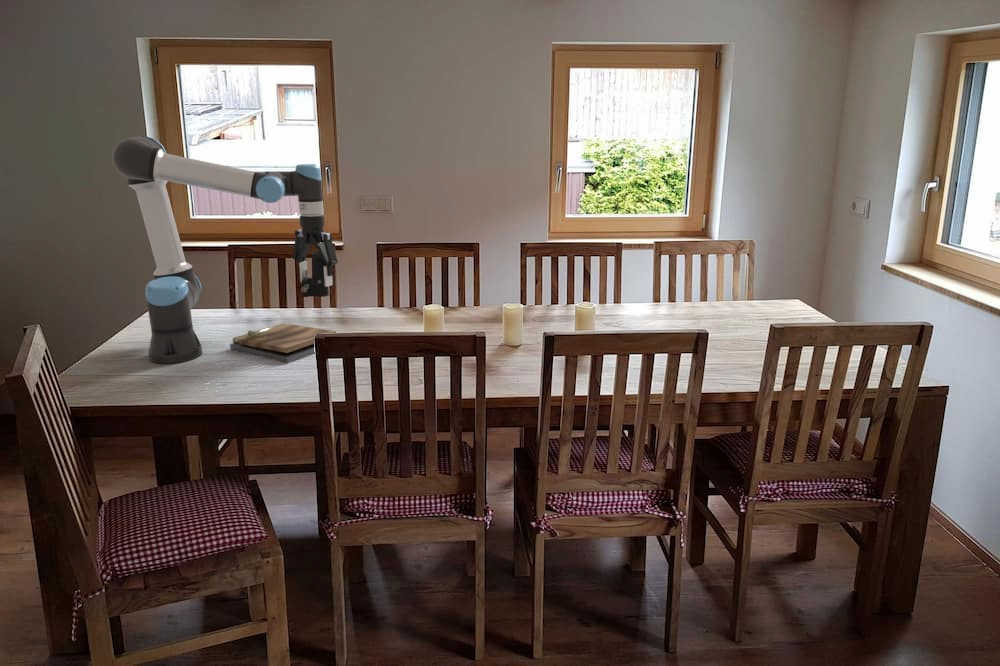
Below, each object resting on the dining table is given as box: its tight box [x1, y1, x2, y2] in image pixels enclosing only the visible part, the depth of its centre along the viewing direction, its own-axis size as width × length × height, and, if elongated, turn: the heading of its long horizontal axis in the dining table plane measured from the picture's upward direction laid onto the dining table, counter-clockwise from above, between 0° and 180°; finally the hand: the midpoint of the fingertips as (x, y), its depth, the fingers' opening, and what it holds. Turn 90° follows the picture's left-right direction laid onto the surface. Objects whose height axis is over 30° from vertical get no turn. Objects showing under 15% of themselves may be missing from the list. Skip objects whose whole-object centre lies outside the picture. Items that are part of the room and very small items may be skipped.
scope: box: [300, 250, 335, 298], centre depth 255 cm, size 8×14×10 cm
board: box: [238, 323, 337, 353], centre depth 248 cm, size 22×20×4 cm
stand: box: [229, 322, 316, 364], centre depth 249 cm, size 26×22×4 cm
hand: (316, 283), depth 256 cm, fingers closed on scope, 10 cm apart
